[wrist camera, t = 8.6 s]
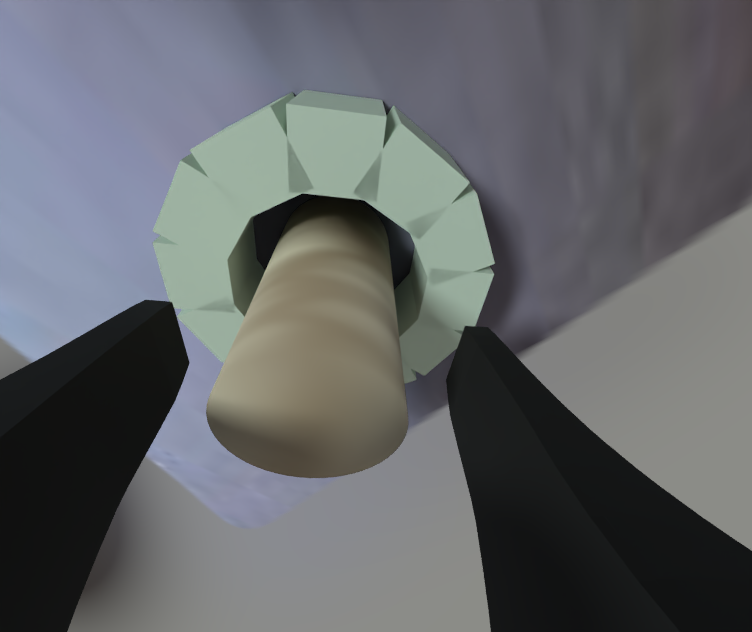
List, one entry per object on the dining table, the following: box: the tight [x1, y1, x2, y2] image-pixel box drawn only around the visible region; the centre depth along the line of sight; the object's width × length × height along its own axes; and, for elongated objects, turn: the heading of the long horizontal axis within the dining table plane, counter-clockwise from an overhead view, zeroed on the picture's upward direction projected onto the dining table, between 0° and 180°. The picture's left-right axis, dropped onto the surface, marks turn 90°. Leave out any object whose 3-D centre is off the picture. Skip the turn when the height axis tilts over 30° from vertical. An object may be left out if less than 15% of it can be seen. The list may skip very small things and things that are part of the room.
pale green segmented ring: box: [153, 90, 495, 384], centre depth 12 cm, size 10×10×3 cm
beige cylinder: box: [206, 196, 408, 478], centre depth 10 cm, size 4×4×8 cm
